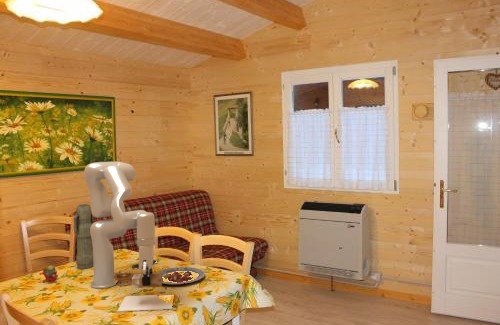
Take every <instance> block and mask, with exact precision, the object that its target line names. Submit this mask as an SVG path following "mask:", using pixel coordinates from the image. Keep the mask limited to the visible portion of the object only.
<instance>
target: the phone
mask: <svg viewBox="0 0 500 325" xmlns="http://www.w3.org/2000/svg"><path fill="white" fill-rule="evenodd" d="M156 261H157V262H158V263H159V260H157V259H153V265H155V264H154V263H155V262H156ZM131 268H132V269H135V268H137V269H136V270H139V262H138V263H136V264H134V265H131ZM142 269H143V268H142ZM142 269H141V270H142Z"/></svg>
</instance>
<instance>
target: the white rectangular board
mask: <svg viewBox="0 0 500 325" xmlns="http://www.w3.org/2000/svg"><path fill="white" fill-rule="evenodd" d="M157 295H158V294H149V295H148V294H145V295H144V294H143V295H127V296H125V297H124V298H123V300H122V302H121V304H120V306H119V308H118V309H117V313H128V312H127V311H135V312H141V311H140V310H155V311H164V310H163V309H172V310H173V307H174V303H173V304H172V303H170V302H169V303H170V304H169V303H166V301H164V300H162V299H159V296H157ZM172 306H173V307H172Z"/></svg>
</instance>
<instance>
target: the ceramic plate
mask: <svg viewBox="0 0 500 325" xmlns="http://www.w3.org/2000/svg"><path fill="white" fill-rule="evenodd" d="M176 271H187V272H185V273H184V274H183V275H184V276H183V277H182V275H181V274H180V273H178V272H176ZM189 271H192V272H195V273H198V274H199V276H198V277H197V278H196V279H194V280H191V279H192V278H193V277H192V278H191V277H189V276H190V275H192V274H191V272H189ZM172 272H174V273H173V274H172V275H171V274H168V273H172ZM156 273H162V277H164V278H165V279H167V278H168V280H169V281H173V282H177V283H172V282H164V281H163V282H162V284H166V285H184V283H185V284H188V283H193V282H196V281H199V280H201V279H203V278H204V277H205V271H204V270H203V269H201V268H197V267H192V266H191V267H190V266H178V267H170V268H165V269H162V270H159V271H157V272H156ZM165 274H166V275H165ZM164 275H165V276H164ZM188 280H191V281H188ZM183 281H186V282H183Z"/></svg>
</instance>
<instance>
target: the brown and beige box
mask: <svg viewBox="0 0 500 325" xmlns="http://www.w3.org/2000/svg"><path fill="white" fill-rule="evenodd" d="M149 276H150V286H142V273H140V274H139V273H137V274H135V273H134V274H133V276H132V277H131V289H143V288H160V287H162V284H163V283H162V282H163V278H162V273H157V272H156V273H153V272H152V274H149Z"/></svg>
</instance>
